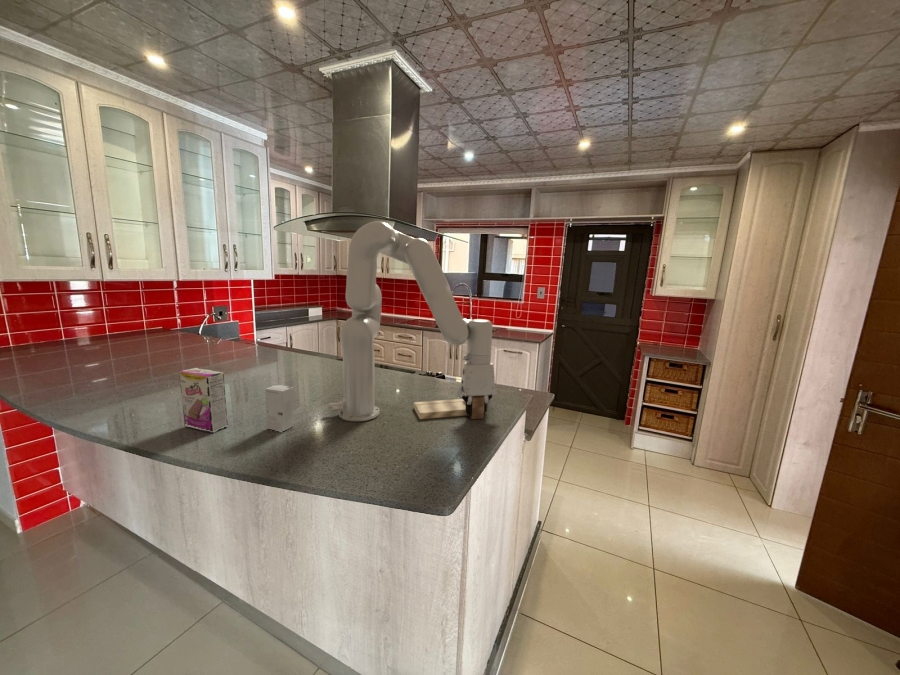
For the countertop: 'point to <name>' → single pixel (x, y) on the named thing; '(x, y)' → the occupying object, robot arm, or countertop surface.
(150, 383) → the countertop surface
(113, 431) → the countertop surface
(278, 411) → the skincare box
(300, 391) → the countertop surface
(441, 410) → the board
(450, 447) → the countertop surface
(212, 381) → the candy bar box
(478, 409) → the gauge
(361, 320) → the robot arm
